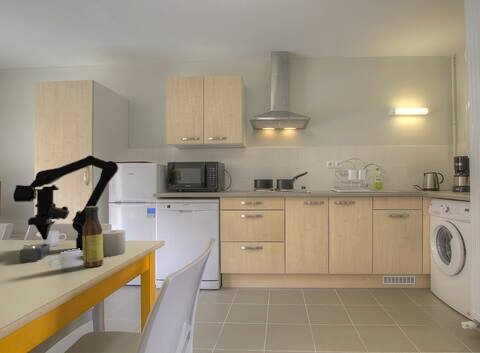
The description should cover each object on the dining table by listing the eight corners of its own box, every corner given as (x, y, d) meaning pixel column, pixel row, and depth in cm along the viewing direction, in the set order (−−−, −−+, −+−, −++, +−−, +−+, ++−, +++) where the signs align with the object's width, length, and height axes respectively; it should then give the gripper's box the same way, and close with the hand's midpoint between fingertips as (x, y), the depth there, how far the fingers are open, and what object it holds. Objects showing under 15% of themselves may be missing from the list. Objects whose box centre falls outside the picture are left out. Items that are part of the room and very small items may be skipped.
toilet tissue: (90, 259, 113) (90, 235, 113) (105, 250, 126) (105, 229, 126) (115, 258, 113) (115, 235, 113) (128, 250, 126) (128, 229, 126)
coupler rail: (49, 252, 123) (49, 239, 123) (35, 262, 109) (35, 247, 109) (35, 253, 122) (35, 240, 122) (19, 263, 108) (19, 248, 108)
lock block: (49, 254, 121) (49, 243, 121) (41, 260, 112) (41, 248, 112) (31, 255, 120) (31, 244, 120) (22, 261, 111) (22, 249, 111)
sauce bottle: (107, 263, 106) (107, 205, 106) (93, 268, 100) (93, 207, 100) (92, 262, 108) (92, 205, 108) (77, 267, 102) (77, 207, 103)
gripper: (60, 202, 119) (60, 242, 119) (72, 199, 137) (72, 234, 137) (27, 203, 116) (27, 244, 116) (44, 200, 134) (44, 236, 134)
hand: (45, 239), depth 126 cm, fingers closed
